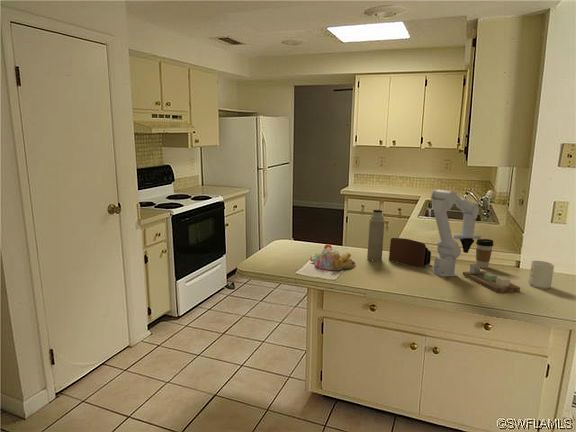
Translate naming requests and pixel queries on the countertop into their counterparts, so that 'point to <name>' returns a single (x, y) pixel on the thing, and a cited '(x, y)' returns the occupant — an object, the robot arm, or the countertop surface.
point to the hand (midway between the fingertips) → (465, 252)
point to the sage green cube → (490, 277)
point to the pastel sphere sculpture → (332, 259)
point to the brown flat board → (491, 283)
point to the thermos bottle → (376, 236)
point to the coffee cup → (483, 252)
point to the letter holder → (409, 252)
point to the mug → (541, 274)
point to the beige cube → (502, 281)
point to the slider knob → (474, 269)
